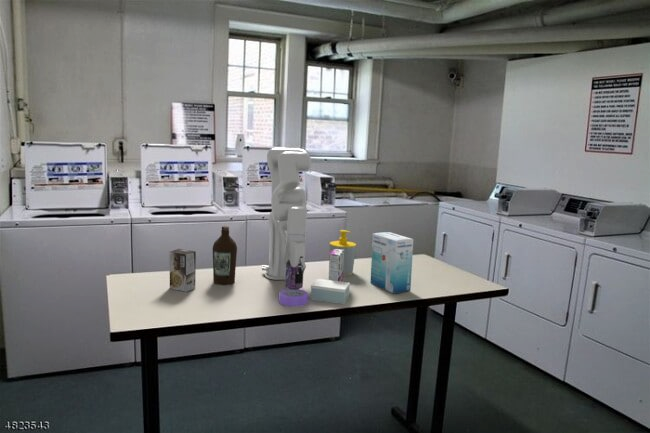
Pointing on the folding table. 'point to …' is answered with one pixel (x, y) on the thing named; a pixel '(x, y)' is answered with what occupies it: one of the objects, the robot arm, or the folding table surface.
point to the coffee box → (182, 269)
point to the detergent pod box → (330, 291)
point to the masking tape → (293, 297)
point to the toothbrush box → (391, 262)
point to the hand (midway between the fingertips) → (294, 280)
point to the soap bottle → (345, 252)
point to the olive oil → (224, 258)
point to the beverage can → (291, 277)
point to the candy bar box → (336, 265)
